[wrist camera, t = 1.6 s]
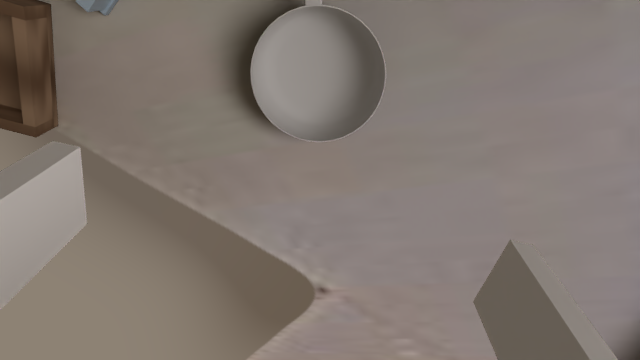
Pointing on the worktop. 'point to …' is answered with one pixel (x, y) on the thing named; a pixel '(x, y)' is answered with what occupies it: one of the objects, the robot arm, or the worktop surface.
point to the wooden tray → (27, 68)
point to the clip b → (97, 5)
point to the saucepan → (318, 73)
